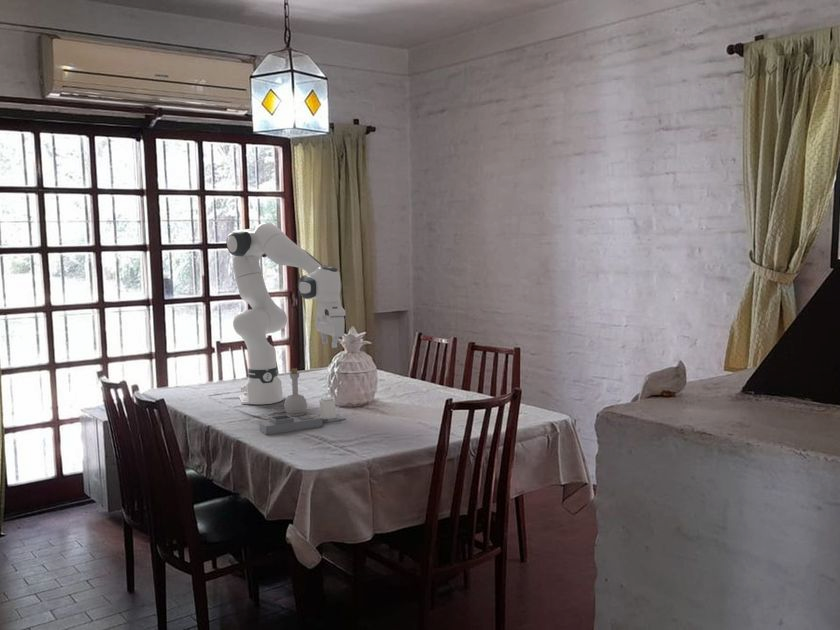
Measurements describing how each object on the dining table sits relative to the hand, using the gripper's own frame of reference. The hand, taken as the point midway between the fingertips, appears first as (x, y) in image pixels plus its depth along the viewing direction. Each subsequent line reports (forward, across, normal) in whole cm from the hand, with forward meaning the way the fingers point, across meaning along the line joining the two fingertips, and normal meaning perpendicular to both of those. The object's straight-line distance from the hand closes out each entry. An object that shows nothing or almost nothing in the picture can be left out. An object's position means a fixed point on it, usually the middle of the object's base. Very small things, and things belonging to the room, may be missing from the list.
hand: (329, 345), depth 298 cm
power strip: (+27, +12, -18) cm, 34 cm away
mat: (+27, +6, -3) cm, 27 cm away
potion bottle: (+27, -9, -10) cm, 31 cm away
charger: (+26, +6, -3) cm, 27 cm away
